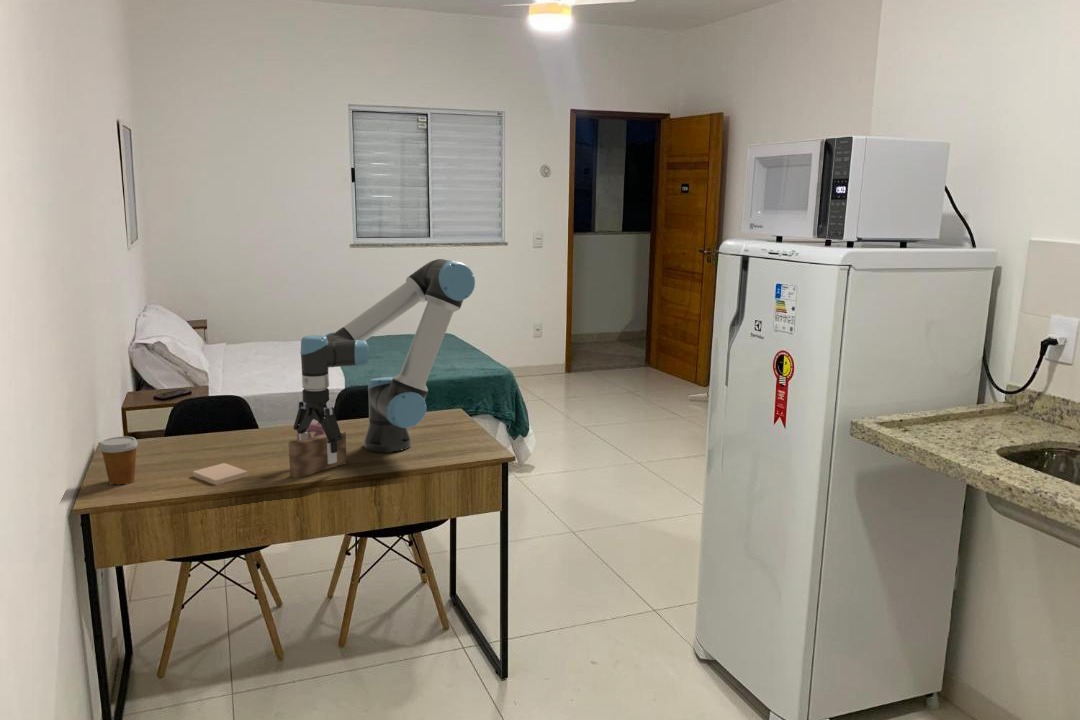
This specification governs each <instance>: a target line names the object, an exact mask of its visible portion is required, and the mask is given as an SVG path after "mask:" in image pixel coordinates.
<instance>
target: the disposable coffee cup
mask: <svg viewBox="0 0 1080 720" xmlns="http://www.w3.org/2000/svg"><path fill="white" fill-rule="evenodd" d="M100 442H101V443H100V445H99V449H100V451H101V453H102V458H103V462H104V467H105V469H106V475H107V479H108V483H111V484H125V485H127V484H126V483H129V484H132V483H134V481H135V478H136V477H135V476H136V463H137V462H136V459H137V447H138V445H139V442H138V441H137V439H136V438H135V437H133V436H115V437H109V438H106V439H104V440H102V441H100ZM111 484H110V485H111Z"/></svg>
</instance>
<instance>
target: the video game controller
mask: <svg viewBox="0 0 1080 720" xmlns="http://www.w3.org/2000/svg"><path fill="white" fill-rule="evenodd" d="M296 432H297V431H296ZM305 432H308V437H309V438H311V437H312V435H311V433H314V435H313V437H315V436H319V435H323V434H325V432H324V430H323V428H322V426H321V424H320V423H318V422H311V423H310V425H309V427H308V431H305ZM296 441H299V433H298V432H297V434H296Z"/></svg>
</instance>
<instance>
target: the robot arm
mask: <svg viewBox="0 0 1080 720" xmlns="http://www.w3.org/2000/svg"><path fill="white" fill-rule="evenodd" d="M475 284H476V280H475V276H474V273H473V271H472V269H471V268H470V266H468V265H467V264H465V263H463V262H461V261H457V260H448V259H444V258H443V259H442V258H437V259H434V260H430V261H429V262H427V263H425V264H424V265H423V266H421V267H420V268H418V269H417V270H416V271H414V272H413V273H412V274H410V275H409V276H407V277H406V278H405V283H403V284H401V285H400V286H399V287H397V288H396V289H394V290H393V291H392V292H391V293H390V292H389V294H388V295H386V296H385V297H384V298H382V299H380V300H379V301H378V302H376V303H375V304H374V305H372V306H370V307H369V308H368V309H366V310H365V311H364V312H362V313H361V314H360V315H358V316H357V317H355V318H354V319H353V320H351V321H350V322H348V323H347V324H345V325H344V326H342V327H341V328H339V329H338V330H337V331H335V332H330V333H329V332H328V333H327V334H325V335H322V334H318V335H317V334H316V335H315V334H313V335H312V334H311V335H306V336H303V337H302V338H301V340H300V353H299V354H300V361H301V362H300V363H301V383H302V384H301V385H302V388H303V389H302V401H299V402H298V411H297V413H296V417H295V420H294V424H293V430H294V431H296V432H298V433H299V440H303V439H307V438H309V437H308V432H305V431H308V427H309V425H310V423H313V422H312V421H313V420H315V421H317V423H319V424H321V426H322V428H323V430H324V432H325V434H326V436H327V438H328V440H329V441H328V442H327V455H328V464H332V463H336V462H337V441H339V440H342V436H341V433H340V431H341V430H340V427H339V423H338V420H337V417H336V412H335V408H334V407H333V406H332V407H328V406H327V403H328V402H329V401H330V389H329V386H330V380H329V368H334V367H335V368H337V367H338V368H339V367H352V366H355V367H357V366H361V365H362V366H363V365H366V364H368V362H369V358H370V349H369V348H370V347H369V344H368V342H367V340H369V339H370V338H371V337H373V336H374V335H375V334H376V333H378V332H380V331H381V330H382V329H385V327H386V326H387V325H389V324H391V323H393V322H394V321H395V320H397V319H398V318H399V317H400V316H403V314H404V313H406V312H407V311H409V310H410V309H412V308H413V307H414V306H416V305H417V304H418V303H419V302H420V303H421V302H422V303H426V302H427V303H426V305H425V308H424V310H423V313H422V315H421V318H420V320H419V324H418V326H417V329H416V331H415V333H414V336H413V338H412V342H411V344H410V347H409V350H408V351H407V354H406V357H405V360H404V362H403V364H402V367H401V370H400V373H399V374H397V375H395V376H384V377H376V378H371V379H370V380H369V381H368V383H367V384H368V386H367V391H368V395H367V396H368V427H367V430H366V434H365V436H364V439H363V440H364V442H363V444H364V445H363V446H364V447H365V448H366V449H365V448H364V449H365V450H367V451H369V450H370V452H373V451H375V452H374V453H383V452H386V453H393V452H392V451H397V452H399V451H398V450H401V449H405V448H407V447H409V446H410V445H411V446H412V439H411V436H410V432H409V428H413V427H415V426H417V425H418V424H420V422H422V421H423V419H424V418H425V416H426V413H427V404H426V401H425V400H426V397H427V395H428V392H429V389H428V386H427V381H428V379H429V376H430V373H431V370H432V368H433V365H434V363H435V361H436V358H437V357H438V356H437V355H438V352H439V350H440V348H441V345H442V343H443V341H444V338H445V335H446V332H447V330H448V327H449V326H450V322H451V319H452V317H453V314H454V313H455V312H457V311H459V310H461V307H462V305H463V302H464V300H466V299H467V298H469V297H470V296H471V295H472V294H473V292H474V291H475V288H476V287H475V286H476V285H475ZM337 436H338V437H337ZM411 446H410V447H411ZM410 447H409V448H410ZM405 450H406V449H405Z"/></svg>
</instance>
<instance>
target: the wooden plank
mask: <svg viewBox="0 0 1080 720" xmlns="http://www.w3.org/2000/svg"><path fill="white" fill-rule="evenodd" d="M340 433H341V436H342V440H339V441H337V462H336V463H332V464H328V455H327V442H328V441H329V440H328V438H327V436H326V434H323V435H319V436H315V437H314V436H311V438H307V439H303V440H299V441H297V440H295V441H292V442H288V456H289V460H288V461H289V476H290V477H292V478H295V479H298V478H302V477H305V476H308V475H313V474H315V472H316V473H318V472H322V470H323V471H326V470H329V469H333V468H336V467H339V466H338V465H340V466H342V464H343V465H345V464H344V463H346V464H347V463H348V461H347V434H346V431H343V430H340ZM337 437H338V436H337ZM332 467H333V468H332Z"/></svg>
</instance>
